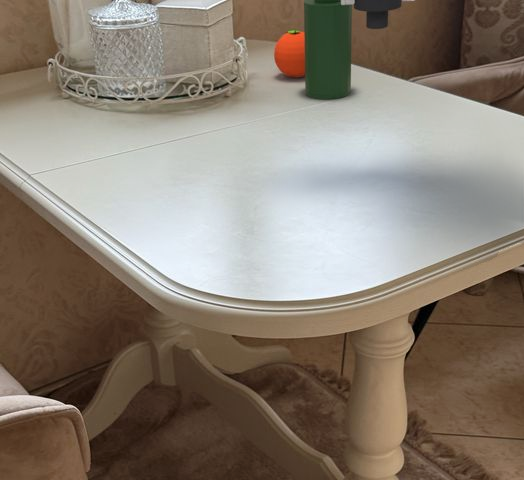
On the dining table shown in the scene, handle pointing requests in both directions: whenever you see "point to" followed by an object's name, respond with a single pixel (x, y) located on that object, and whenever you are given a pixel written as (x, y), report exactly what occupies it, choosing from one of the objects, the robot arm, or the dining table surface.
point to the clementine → (291, 53)
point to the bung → (377, 11)
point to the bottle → (327, 48)
